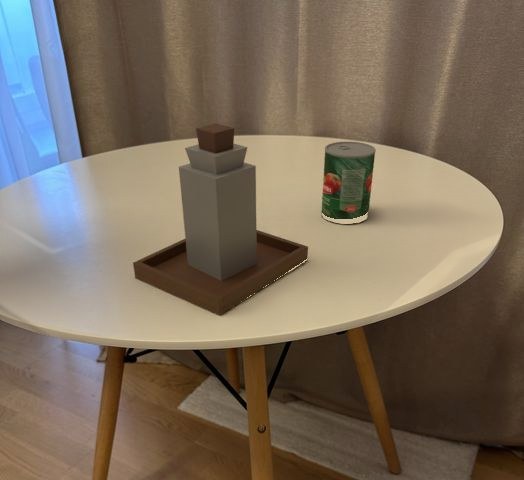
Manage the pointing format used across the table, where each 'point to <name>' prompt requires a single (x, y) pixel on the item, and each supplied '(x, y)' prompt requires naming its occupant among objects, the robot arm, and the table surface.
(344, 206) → the canned tomato
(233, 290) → the tray
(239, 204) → the perfume bottle
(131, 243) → the table surface
